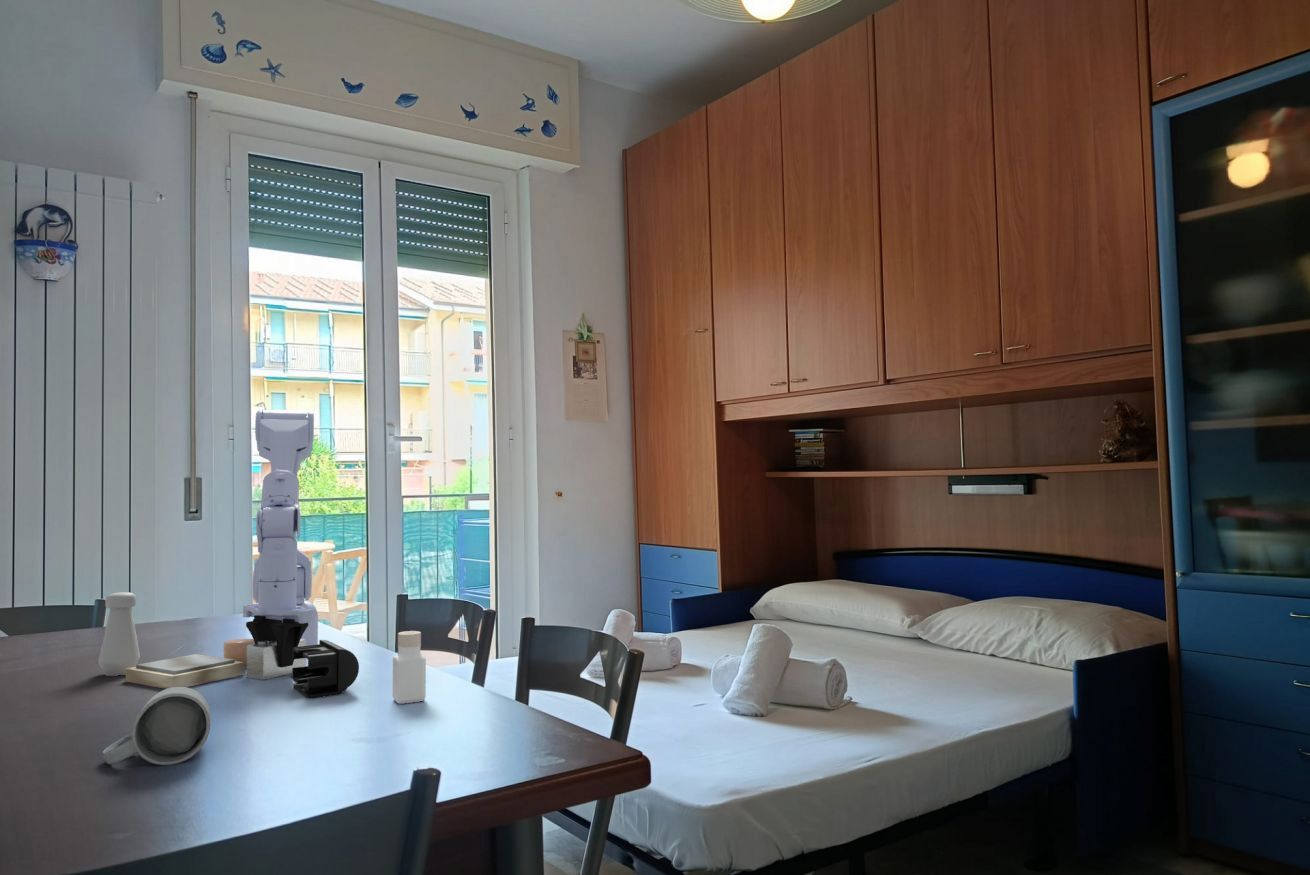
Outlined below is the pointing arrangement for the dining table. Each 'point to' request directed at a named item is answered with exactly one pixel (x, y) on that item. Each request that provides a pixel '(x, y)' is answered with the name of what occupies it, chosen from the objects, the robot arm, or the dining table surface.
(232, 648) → the peach rounded cylinder
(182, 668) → the birch plinth
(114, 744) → the ceramic mug
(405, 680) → the pepper shaker
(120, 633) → the salt shaker
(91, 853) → the dining table surface
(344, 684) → the end cap
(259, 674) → the alloy housing
